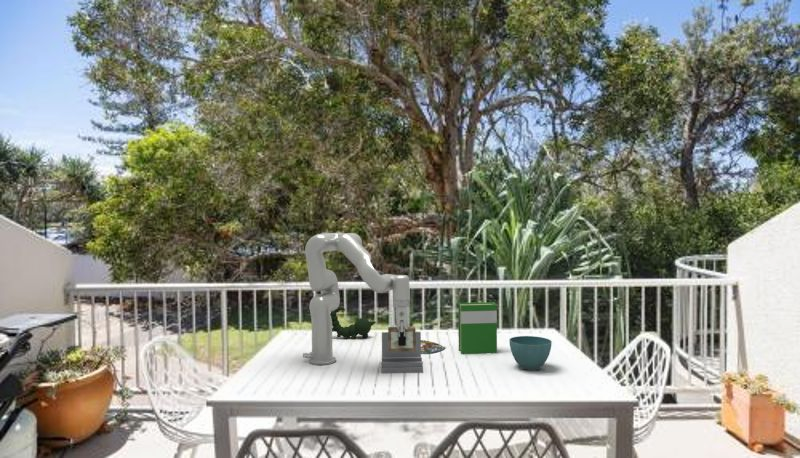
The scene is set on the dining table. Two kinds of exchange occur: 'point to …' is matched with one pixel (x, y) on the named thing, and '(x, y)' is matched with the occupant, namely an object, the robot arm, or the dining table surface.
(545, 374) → the dining table surface
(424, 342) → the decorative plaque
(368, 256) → the robot arm
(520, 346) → the teal bowl
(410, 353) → the display ledge
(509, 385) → the dining table surface
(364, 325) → the toy figurine
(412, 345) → the picture frame
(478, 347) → the hardback book
